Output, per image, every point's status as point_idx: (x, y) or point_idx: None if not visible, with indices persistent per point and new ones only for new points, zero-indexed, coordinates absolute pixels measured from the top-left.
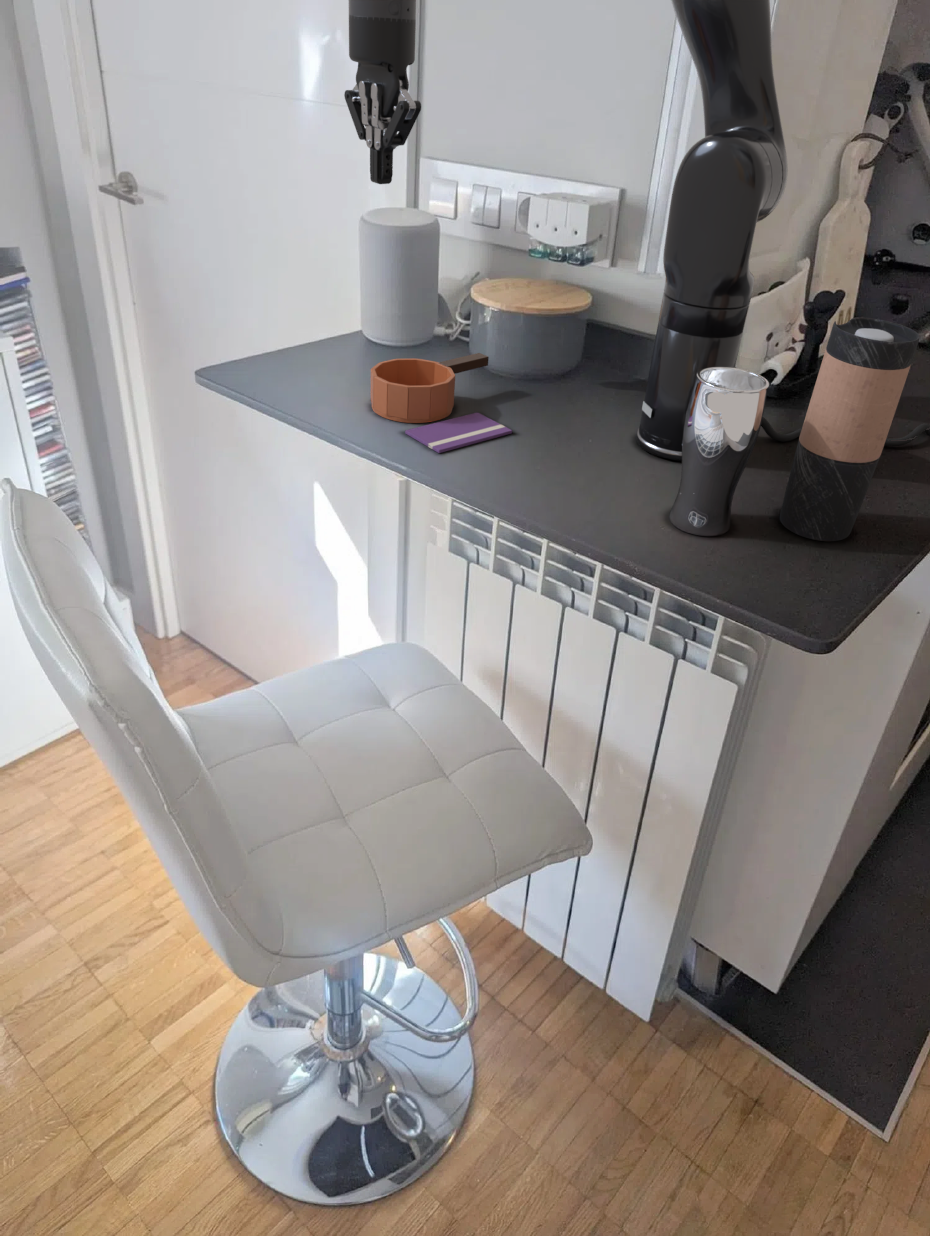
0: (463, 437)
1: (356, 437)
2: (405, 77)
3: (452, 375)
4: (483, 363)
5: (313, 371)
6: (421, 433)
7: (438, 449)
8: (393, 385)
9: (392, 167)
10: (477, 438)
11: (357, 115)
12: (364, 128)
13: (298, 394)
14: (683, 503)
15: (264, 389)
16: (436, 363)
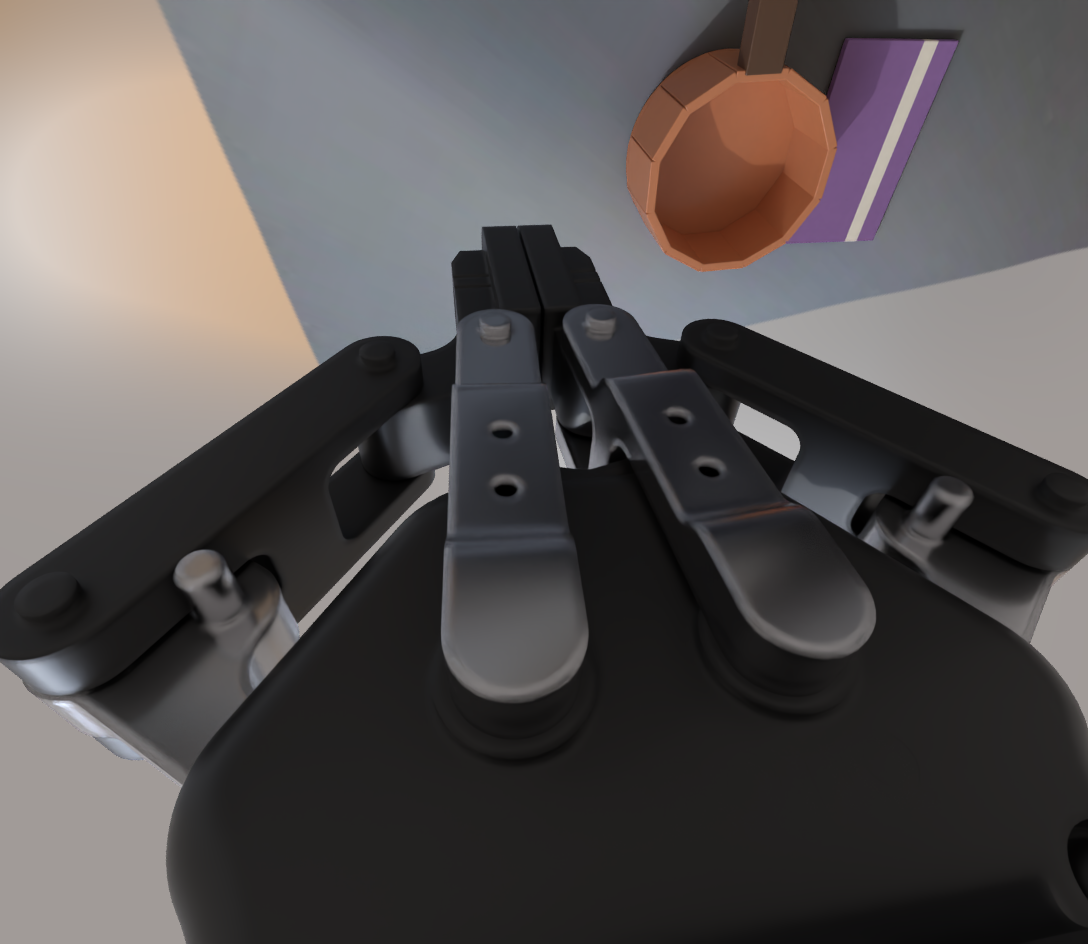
0: (885, 168)
1: (729, 315)
2: (1082, 770)
3: (822, 105)
4: None
5: (418, 226)
6: (812, 226)
7: (870, 239)
8: (754, 259)
9: (597, 275)
10: (909, 145)
11: (348, 566)
12: (411, 483)
13: None
14: None
15: None
16: (742, 82)
